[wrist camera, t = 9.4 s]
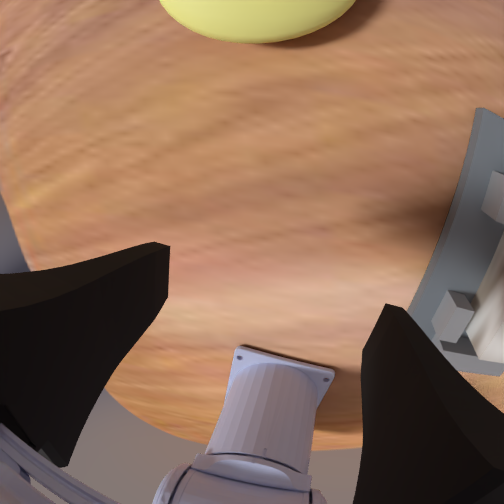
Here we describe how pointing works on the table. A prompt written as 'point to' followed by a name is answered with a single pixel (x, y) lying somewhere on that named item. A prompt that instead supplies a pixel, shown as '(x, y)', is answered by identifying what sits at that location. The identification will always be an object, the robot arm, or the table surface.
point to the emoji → (255, 18)
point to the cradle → (465, 249)
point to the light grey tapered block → (489, 311)
